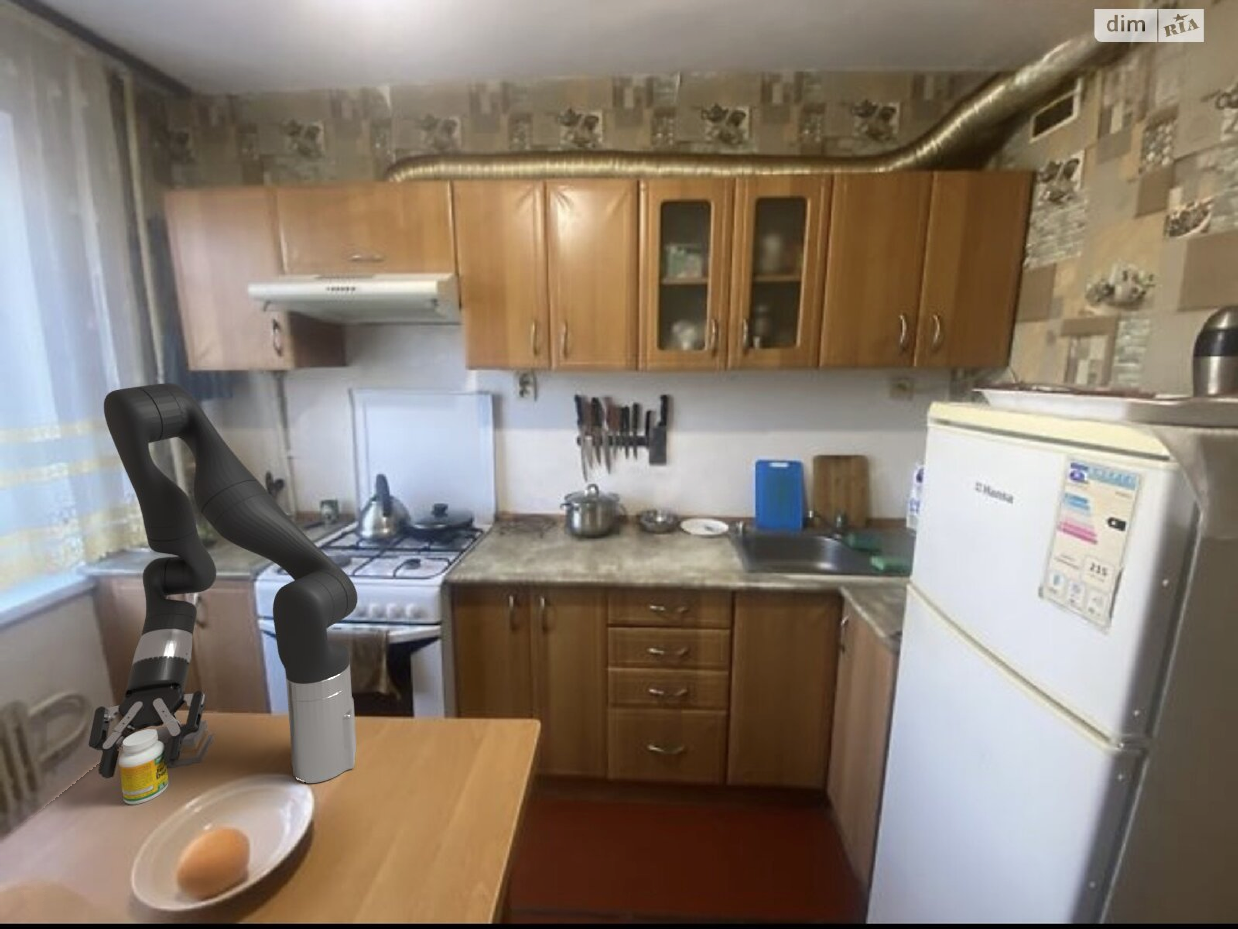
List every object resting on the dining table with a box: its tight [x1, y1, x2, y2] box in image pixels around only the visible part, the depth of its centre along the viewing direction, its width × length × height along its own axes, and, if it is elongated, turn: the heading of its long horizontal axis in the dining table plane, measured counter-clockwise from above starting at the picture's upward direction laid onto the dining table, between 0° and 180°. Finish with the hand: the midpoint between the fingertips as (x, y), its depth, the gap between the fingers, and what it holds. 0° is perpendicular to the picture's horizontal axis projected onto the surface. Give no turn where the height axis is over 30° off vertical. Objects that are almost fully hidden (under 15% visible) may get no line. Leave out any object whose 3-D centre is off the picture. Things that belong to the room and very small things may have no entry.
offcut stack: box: [155, 720, 215, 769], centre depth 92 cm, size 9×7×4 cm
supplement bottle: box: [118, 728, 169, 805], centre depth 83 cm, size 5×5×10 cm
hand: (138, 770), depth 81 cm, fingers open, 7 cm apart
